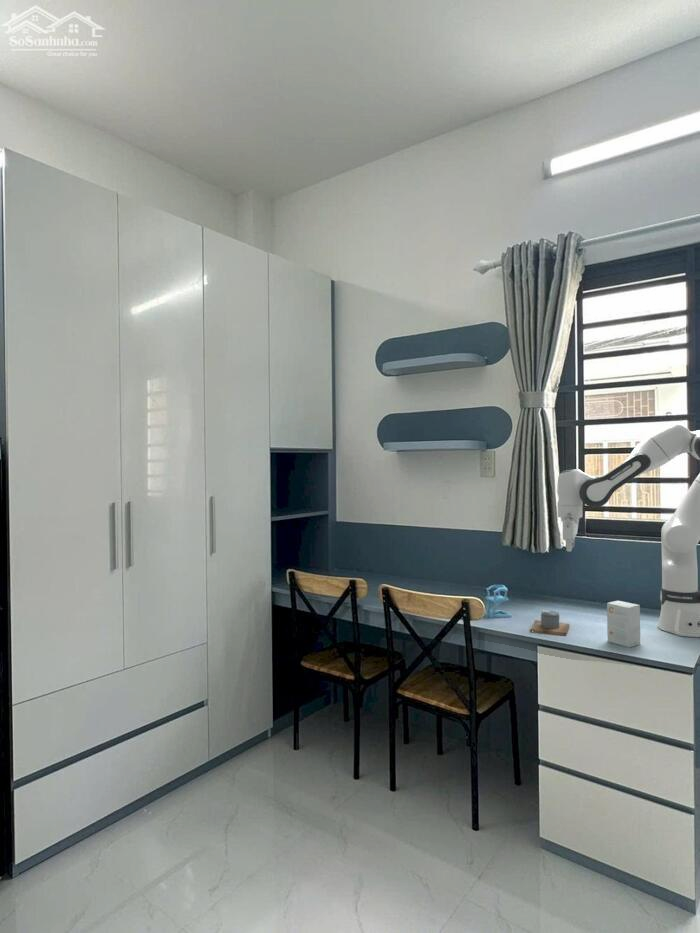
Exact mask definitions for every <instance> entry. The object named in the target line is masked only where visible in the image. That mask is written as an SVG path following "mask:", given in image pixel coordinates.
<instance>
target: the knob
mask: <svg viewBox="0 0 700 933" xmlns="http://www.w3.org/2000/svg"><path fill="white" fill-rule="evenodd" d="M540 614H541V615H540V621H541V626H542V627H545V628H550V629H555V628H559V623H560V613H559V612H558V611H554V610H541V613H540Z"/></svg>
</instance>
